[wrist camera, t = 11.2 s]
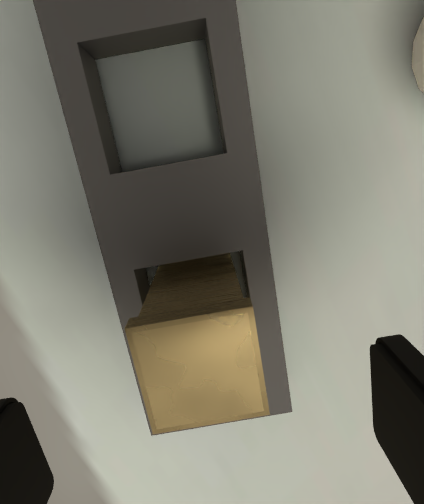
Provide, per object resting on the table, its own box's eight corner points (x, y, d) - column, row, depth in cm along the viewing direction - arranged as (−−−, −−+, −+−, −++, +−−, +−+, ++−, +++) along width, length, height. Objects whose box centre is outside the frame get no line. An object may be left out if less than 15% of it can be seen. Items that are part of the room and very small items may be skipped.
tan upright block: (232, 247, 19) (252, 306, 12) (244, 318, 20) (270, 414, 13) (155, 261, 19) (124, 328, 12) (171, 331, 21) (152, 434, 13)
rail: (216, -75, 15) (219, -118, 13) (282, 383, 22) (292, 411, 19) (41, -40, 16) (12, -77, 13) (156, 404, 22) (151, 435, 19)
